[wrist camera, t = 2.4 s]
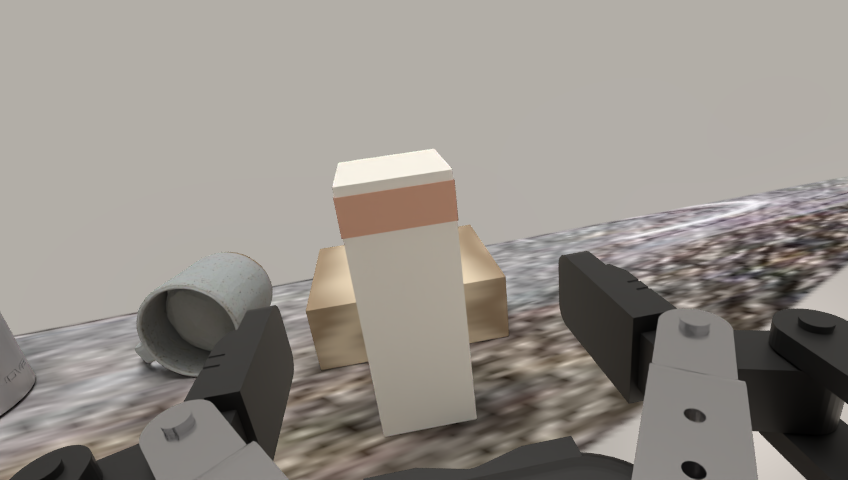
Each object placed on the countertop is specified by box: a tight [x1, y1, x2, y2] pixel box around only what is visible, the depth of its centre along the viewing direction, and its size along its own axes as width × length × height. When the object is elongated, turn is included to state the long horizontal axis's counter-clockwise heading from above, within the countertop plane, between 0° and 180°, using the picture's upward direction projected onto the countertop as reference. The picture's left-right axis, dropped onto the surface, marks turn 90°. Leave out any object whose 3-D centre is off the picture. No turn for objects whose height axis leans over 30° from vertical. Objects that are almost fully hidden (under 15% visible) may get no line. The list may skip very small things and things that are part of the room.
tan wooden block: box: [306, 225, 509, 370], centre depth 36 cm, size 14×11×5 cm
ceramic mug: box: [135, 252, 272, 377], centre depth 35 cm, size 11×8×8 cm
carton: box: [332, 149, 477, 437], centre depth 25 cm, size 6×6×15 cm
